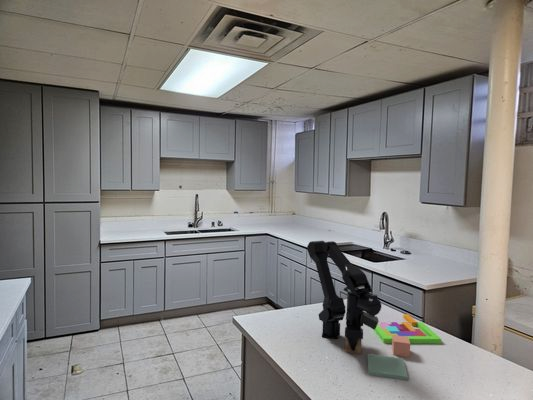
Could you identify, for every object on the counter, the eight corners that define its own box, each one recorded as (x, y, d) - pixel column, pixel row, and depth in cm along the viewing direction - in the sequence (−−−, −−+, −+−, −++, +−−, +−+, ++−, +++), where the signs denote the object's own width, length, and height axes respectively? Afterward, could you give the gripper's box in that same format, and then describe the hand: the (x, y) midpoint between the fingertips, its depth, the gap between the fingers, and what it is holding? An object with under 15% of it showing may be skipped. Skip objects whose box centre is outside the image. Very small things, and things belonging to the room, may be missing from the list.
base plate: (368, 374, 117) (368, 371, 117) (367, 356, 128) (367, 353, 128) (407, 380, 114) (407, 377, 114) (402, 361, 125) (403, 358, 125)
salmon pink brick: (393, 354, 130) (393, 341, 130) (391, 347, 136) (392, 334, 135) (409, 357, 129) (410, 343, 129) (407, 349, 134) (408, 336, 134)
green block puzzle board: (441, 344, 140) (412, 319, 165) (441, 338, 140) (413, 314, 165) (383, 344, 139) (364, 318, 164) (383, 338, 139) (364, 313, 164)
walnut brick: (345, 351, 131) (345, 338, 131) (345, 345, 137) (346, 332, 136) (360, 354, 130) (361, 340, 130) (360, 346, 135) (361, 334, 135)
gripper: (379, 317, 121) (377, 362, 122) (376, 299, 139) (374, 338, 140) (345, 314, 124) (343, 357, 125) (346, 296, 142) (345, 335, 143)
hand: (353, 346), depth 133 cm, fingers closed on walnut brick, 6 cm apart
